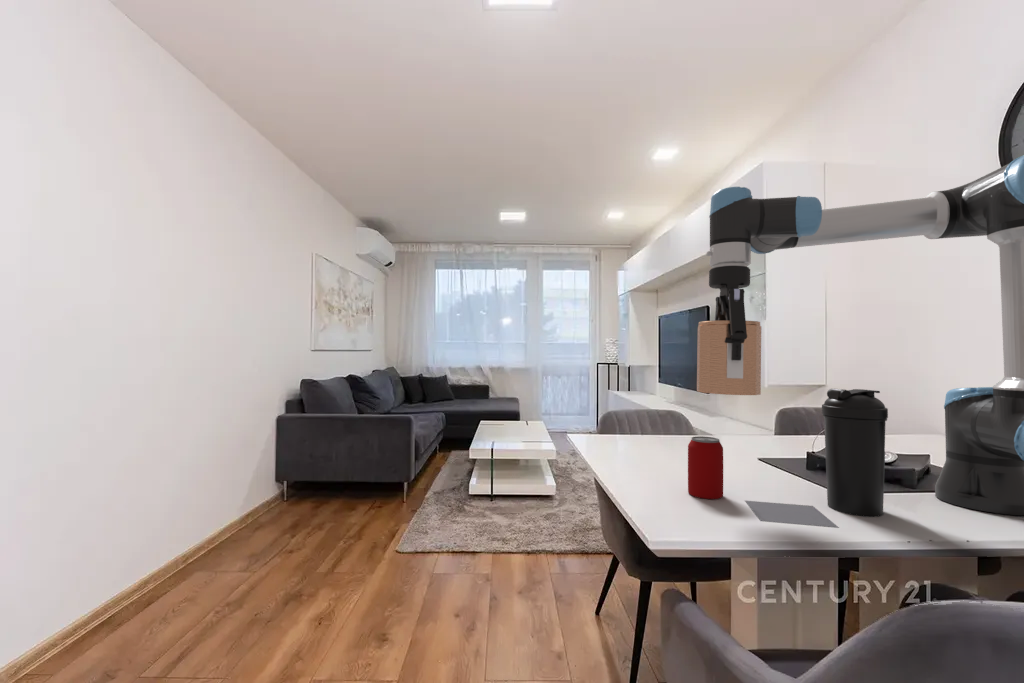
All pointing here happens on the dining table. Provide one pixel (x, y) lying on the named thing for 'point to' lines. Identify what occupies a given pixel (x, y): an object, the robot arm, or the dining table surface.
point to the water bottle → (855, 451)
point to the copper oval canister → (715, 360)
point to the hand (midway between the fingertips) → (727, 377)
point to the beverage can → (705, 468)
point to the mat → (789, 514)
